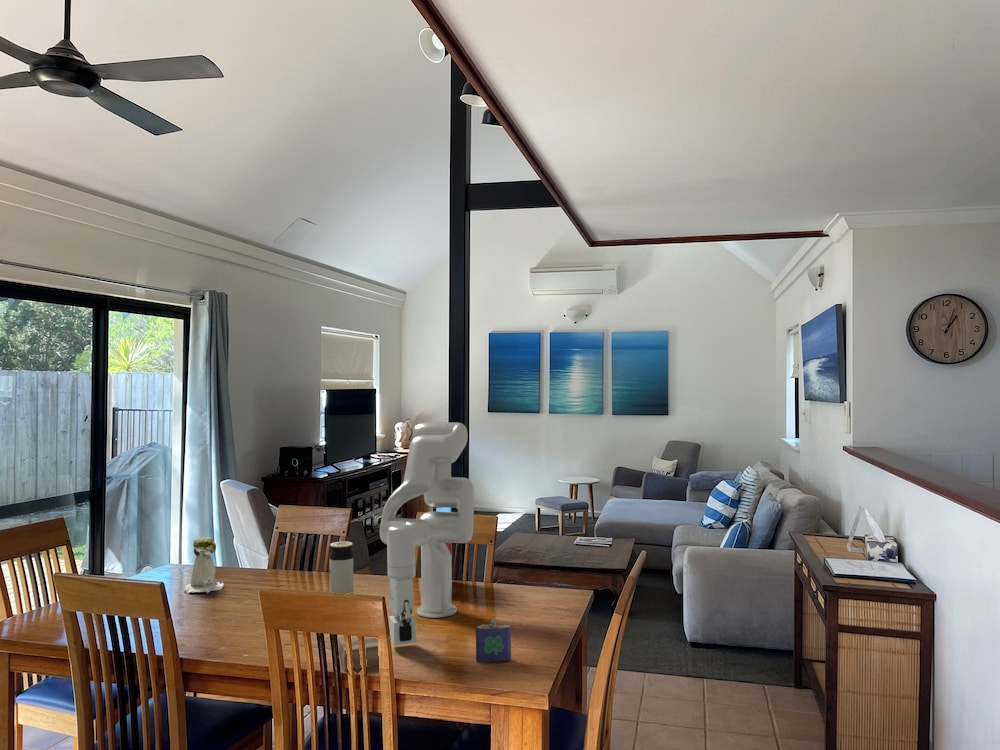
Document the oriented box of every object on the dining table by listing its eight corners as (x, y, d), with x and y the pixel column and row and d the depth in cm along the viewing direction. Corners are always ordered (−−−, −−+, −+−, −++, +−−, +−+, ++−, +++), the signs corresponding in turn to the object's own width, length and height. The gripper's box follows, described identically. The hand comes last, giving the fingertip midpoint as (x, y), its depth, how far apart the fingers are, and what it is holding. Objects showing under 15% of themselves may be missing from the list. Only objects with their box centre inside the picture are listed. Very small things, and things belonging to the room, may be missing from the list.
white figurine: (176, 591, 262) (176, 539, 262) (206, 582, 273) (206, 532, 273) (199, 596, 256) (199, 542, 256) (229, 586, 267) (228, 535, 267)
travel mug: (356, 593, 257) (356, 541, 258) (349, 600, 249) (349, 546, 250) (334, 593, 258) (333, 541, 258) (326, 599, 250) (326, 545, 250)
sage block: (389, 638, 205) (389, 616, 205) (410, 634, 207) (410, 613, 207) (394, 645, 199) (394, 623, 199) (416, 642, 201) (415, 620, 201)
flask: (510, 658, 194) (510, 617, 194) (512, 662, 191) (511, 620, 192) (475, 659, 193) (475, 618, 194) (476, 664, 191) (475, 622, 191)
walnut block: (338, 657, 196) (338, 638, 196) (376, 652, 200) (376, 633, 200) (344, 670, 187) (344, 650, 187) (384, 665, 190) (383, 645, 190)
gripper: (381, 564, 209) (382, 628, 210) (395, 580, 193) (396, 649, 194) (407, 561, 212) (408, 624, 212) (423, 577, 196) (424, 645, 196)
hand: (402, 635), depth 203 cm, fingers closed on sage block, 6 cm apart
